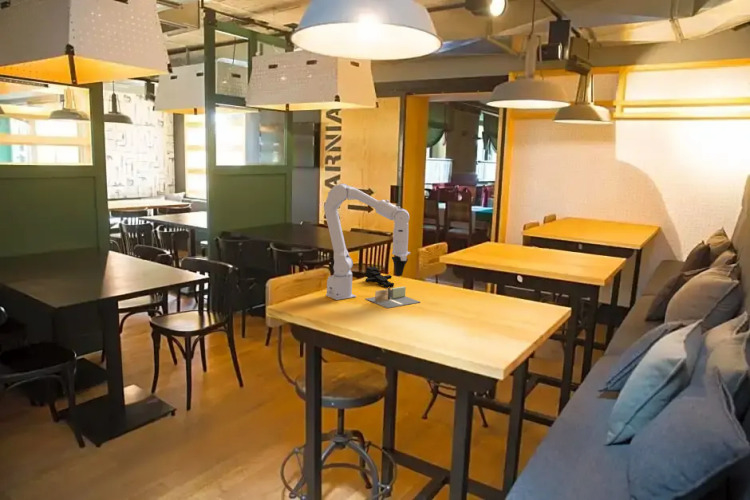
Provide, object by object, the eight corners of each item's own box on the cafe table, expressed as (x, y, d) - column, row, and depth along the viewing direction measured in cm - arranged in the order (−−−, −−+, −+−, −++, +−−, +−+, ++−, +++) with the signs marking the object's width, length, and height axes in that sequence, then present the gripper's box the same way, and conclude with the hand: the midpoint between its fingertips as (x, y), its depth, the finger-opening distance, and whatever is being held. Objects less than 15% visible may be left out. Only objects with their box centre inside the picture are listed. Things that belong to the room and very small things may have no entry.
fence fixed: (376, 302, 208) (377, 290, 207) (374, 301, 209) (375, 289, 208) (390, 299, 212) (391, 288, 211) (388, 299, 213) (389, 287, 212)
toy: (378, 283, 226) (357, 268, 236) (376, 295, 228) (355, 280, 238) (403, 279, 234) (382, 265, 245) (400, 291, 236) (379, 276, 247)
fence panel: (391, 298, 212) (391, 289, 211) (389, 297, 213) (390, 288, 212) (405, 296, 216) (405, 287, 215) (403, 295, 217) (404, 286, 216)
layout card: (387, 308, 200) (387, 307, 200) (365, 299, 211) (365, 298, 211) (420, 302, 210) (420, 301, 210) (397, 294, 221) (397, 293, 221)
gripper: (415, 244, 201) (413, 279, 204) (406, 237, 215) (404, 271, 218) (396, 244, 200) (394, 279, 203) (389, 237, 214) (387, 271, 217)
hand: (398, 275), depth 210 cm, fingers closed
